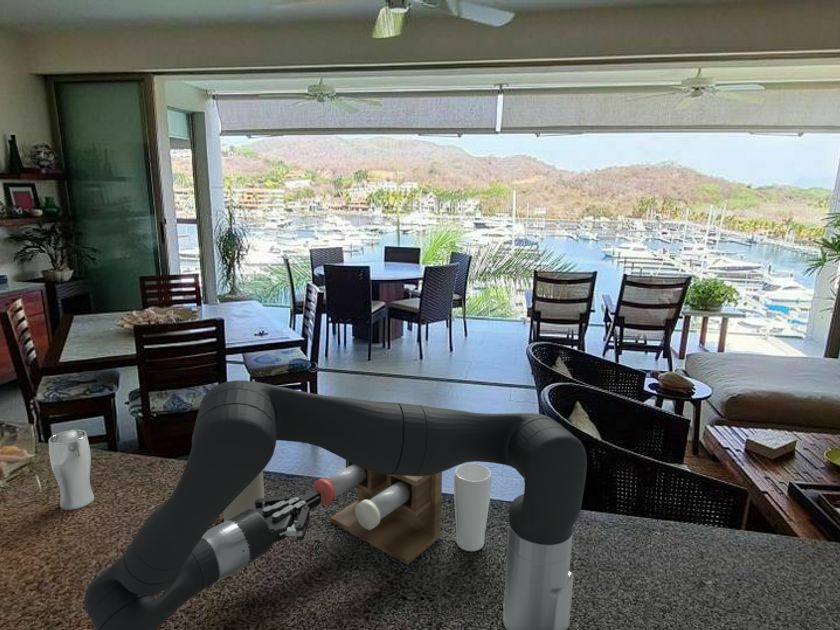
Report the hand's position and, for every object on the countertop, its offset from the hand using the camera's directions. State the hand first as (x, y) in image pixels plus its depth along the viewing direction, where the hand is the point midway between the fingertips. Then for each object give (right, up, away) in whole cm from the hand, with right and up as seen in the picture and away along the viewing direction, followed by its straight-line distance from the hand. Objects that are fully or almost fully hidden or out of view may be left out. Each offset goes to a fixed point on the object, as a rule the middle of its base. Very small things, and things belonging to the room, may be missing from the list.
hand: (318, 495), depth 96 cm
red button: (+4, -1, +5) cm, 6 cm away
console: (+11, -9, +8) cm, 17 cm away
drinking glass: (+28, -11, +4) cm, 30 cm away
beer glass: (-54, -7, +16) cm, 57 cm away
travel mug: (-17, -9, +11) cm, 22 cm away
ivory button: (+12, -3, -1) cm, 13 cm away
